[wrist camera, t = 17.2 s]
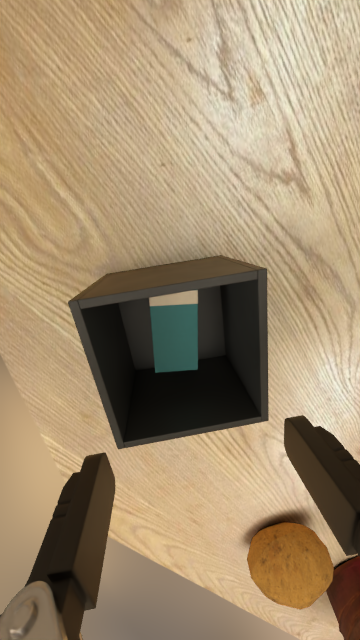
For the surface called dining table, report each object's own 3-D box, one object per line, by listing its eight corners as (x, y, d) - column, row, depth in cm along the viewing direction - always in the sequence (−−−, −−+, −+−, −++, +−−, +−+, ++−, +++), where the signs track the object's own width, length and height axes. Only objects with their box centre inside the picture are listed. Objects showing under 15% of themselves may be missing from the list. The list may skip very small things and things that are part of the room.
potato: (255, 604, 32) (274, 638, 34) (342, 565, 31) (355, 602, 34) (232, 527, 41) (249, 558, 43) (300, 497, 41) (312, 530, 43)
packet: (154, 373, 21) (147, 287, 18) (155, 345, 26) (150, 275, 23) (198, 369, 21) (198, 285, 18) (190, 343, 26) (189, 274, 23)
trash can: (132, 373, 28) (117, 449, 18) (105, 274, 23) (67, 301, 13) (229, 355, 28) (268, 420, 18) (221, 255, 24) (267, 268, 14)
